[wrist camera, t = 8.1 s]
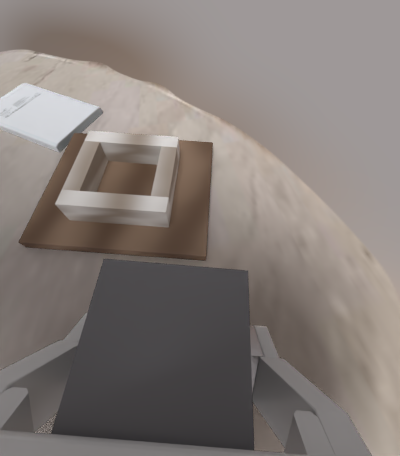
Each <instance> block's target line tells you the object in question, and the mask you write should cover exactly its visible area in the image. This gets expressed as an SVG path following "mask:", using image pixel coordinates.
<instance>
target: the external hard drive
mask: <svg viewBox="0 0 400 456" xmlns="http://www.w3.org/2000/svg"><path fill="white" fill-rule="evenodd" d="M102 113H103V112H102V110H101V108H100V107H98V106H95V105H92V104H89V103H86V102H83V101H80V100H77V99H74V98H71V97H68V96H65V95H61V94H58V93H55V92H52V91H49V90H46V89H43V88H40V87H37V86H34V85H31V84H28V83H22V84H21V85H19V86H18V87H16V88H15V89H13V90H12V91H10V92H9V93H7V94H5V95H4V96H2V97H1V98H0V129H1V130H3V131H6V132H8V133H11V134H13V135H16V136H18V137H21V138H24V139H26V140H29V141H31V142H34V143H36V144H39V145H41V146H44V147H46V148H49V149H51V150H54V151H57V152H59V153H60V152H61V151H62V150H63V149H64V148H65V147H66V146H67V145H68V144H69V142H70V140H71V138H72V136H73V134H74V133H82V132H83V131H84V130H85V129H86V128H87V127H88V126H89V125H90V124H91V123H92V122H94V121H95V120H96V119H97V118H98V117H99V116H100V115H101V114H102Z"/></svg>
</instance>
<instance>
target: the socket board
mask: <svg viewBox="0 0 400 456" xmlns="http://www.w3.org/2000/svg"><path fill="white" fill-rule="evenodd" d="M212 147H213V143H211V142H197V141H182V140H179V137H173V136H158V135H144V134H130V133H116V132H102V131H89V132H88V134H83V133H74V134H73V136H72V138H71V140H70V142H69V144H68V146H67V148H66V150H65V152H64V154H63V156H62V158H61V160H60V162H59V164H58V166H57V168H56V169H55V171H54V173H53V175H52V177H51V179H50V181H49V183H48V185H47V187H46V189H45V191H44V193H43V195H42V197H41V199H40V201H39V203H38V205H37V207H36V209H35V211H34V213H33V215H32V217H31V219H30V221H29V223H28V225H27V227H26V228H25V230H24V232H23V234H22V236H21V238H20V240H19V243H20V244H22V245H23V246H25V247H30V248H44V249H57V250H71V251H84V252H97V253H111V254H124V255H138V256H151V257H165V258H178V259H191V260H205V261H206V249H207V232H208V215H209V198H210V181H211V164H212Z"/></svg>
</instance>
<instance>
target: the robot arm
mask: <svg viewBox="0 0 400 456" xmlns="http://www.w3.org/2000/svg"><path fill="white" fill-rule="evenodd" d="M87 313H88V312H87ZM87 313H85V315H84V316H83V317H82V318H81V319H80V321H79V322H78V323H77V324H76V326H75V327H74V328H73V329H72V330H71V332H70V333H69V334H68V335H67V337H66V338H65V339H64V340H59V341H57V342H55V343H53V344H51V345H49V346H47V347H45V348H43V349H41V350H39V351H37V352H35V353H33V354H31V355H29V356H27V357H25V358H23V359H22V360H20V361H18V362H16V363H14V364H12V365H10V366H8V367H6V368H4V369H2V370H0V456H372V455H371V453H370V452H369V450H368V448H367V446H366V445H365V443H364V441H363V439H362V438H361V436H360V434H359V433H358V431H357V429H356V427H355V426H354V424H353V422H352V420H351V419H350V417H349V415H348V413H346V412H345V411H344V410H343V409H342V408H341V407H339V406H338V405H337V404H336V403H335V402H334V401H332V400H331V399H330V398H329V397H328V396H327V395H325V394H324V393H323V392H322V391H321V390H320V389H318V388H317V387H316V386H315V385H314V384H313V383H311V382H310V381H309V380H308V379H307V378H306V377H304V376H303V375H302V374H301V373H300V372H299V371H297V370H296V369H295V368H294V367H293V366H291V365H290V364H289V363H288V362H287V361H286V360H284V359H282V358H279V356H278V353H277V351H276V348H275V346H274V343H273V341H272V338H271V336H270V333H269V331H268V328H267V327H266V326H257V325H253V326H250V343H251V372H252V400H253V403H254V404H255V406H256V407H257V409H258V410H259V411H260V413H261V414H262V416H263V417H264V419H265V420H266V422H267V423H268V424H269V426H270V427H271V429H272V430H273V432H274V433H275V435H276V436H277V437H278V439H279V440H280V442H281V443H282V445H283V446H284V448H285V450H284V453H280V452H268V451H255V450H243V449H231V448H218V447H206V446H194V445H181V444H169V443H157V442H144V441H132V440H120V439H108V438H95V437H83V436H71V435H58V434H46V433H34V432H35V431H36V430H38V429H39V428H40V427H41V426H42V425H43V424H44V423H45V422H47V421H48V420H49V419H50V418H51V417H52V416H53V415H55V414H56V413H57V412H58V409H59V406H60V403H61V399H62V396H63V393H64V389H65V386H66V383H67V379H68V376H69V373H70V370H71V366H72V363H73V360H74V356H75V353H76V350H77V346H78V343H79V340H80V336H81V333H82V330H83V326H84V323H85V320H86V317H87Z"/></svg>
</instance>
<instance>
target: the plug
mask: <svg viewBox="0 0 400 456" xmlns="http://www.w3.org/2000/svg"><path fill="white" fill-rule="evenodd" d="M51 434H58V435H71V436H83V437H95V438H108V439H120V440H132V441H144V442H157V443H169V444H181V445H194V446H206V447H218V448H231V449H243V450H254V428H253V400H252V372H251V343H250V315H249V287H248V271H245V270H233V269H221V268H209V267H197V266H185V265H173V264H161V263H149V262H137V261H125V260H113V259H104V260H103V264H102V267H101V270H100V273H99V277H98V280H97V283H96V287H95V290H94V293H93V297H92V300H91V303H90V307H89V310H88V313H87V317H86V320H85V323H84V326H83V330H82V333H81V336H80V340H79V343H78V346H77V350H76V353H75V356H74V360H73V363H72V366H71V370H70V373H69V376H68V379H67V383H66V386H65V389H64V393H63V396H62V399H61V403H60V406H59V409H58V413H57V416H56V419H55V423H54V426H53V429H52V433H51Z"/></svg>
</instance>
